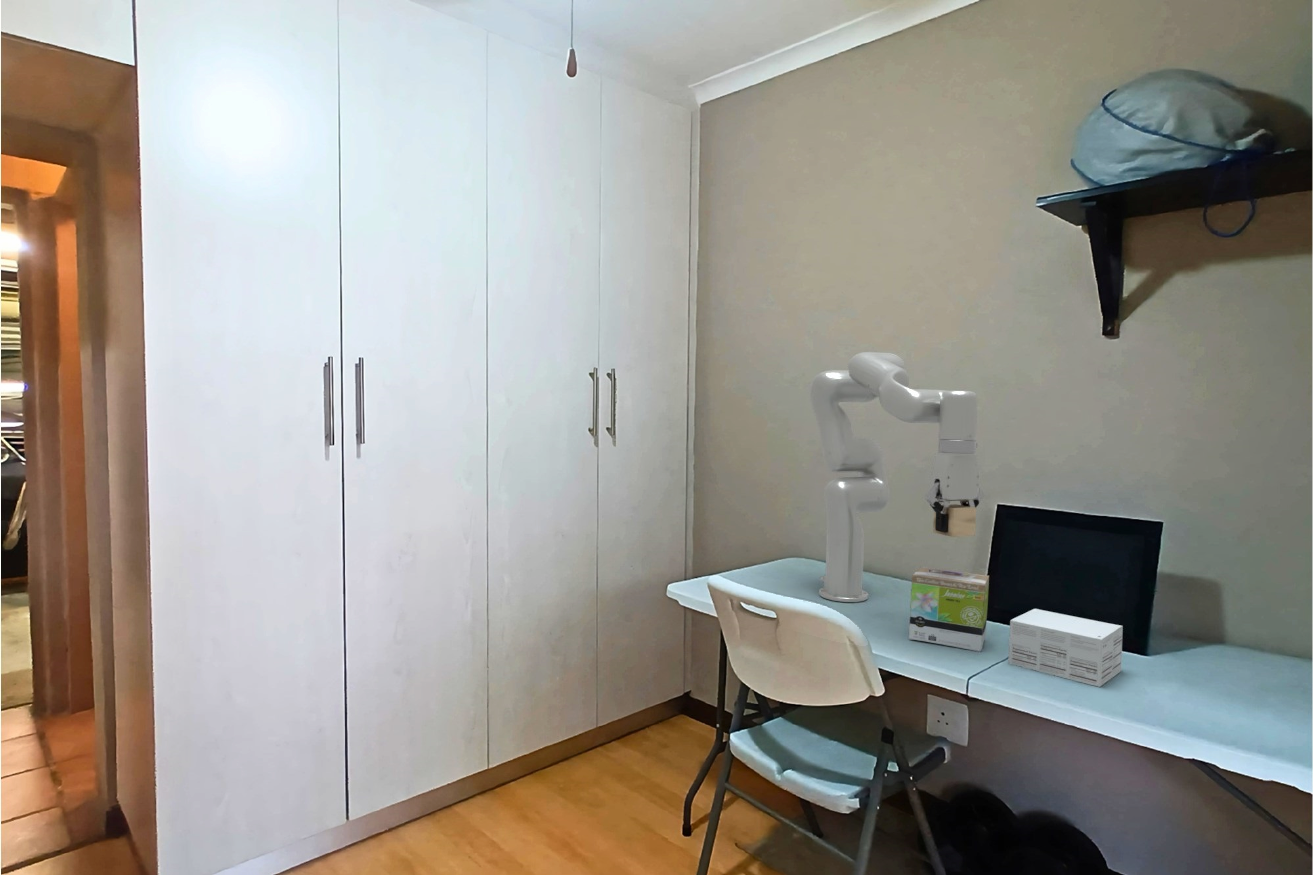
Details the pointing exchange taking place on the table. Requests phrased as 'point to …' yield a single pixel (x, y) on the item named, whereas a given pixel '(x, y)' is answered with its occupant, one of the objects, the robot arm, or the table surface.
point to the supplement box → (1066, 646)
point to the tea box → (949, 608)
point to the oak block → (959, 521)
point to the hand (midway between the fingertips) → (953, 530)
